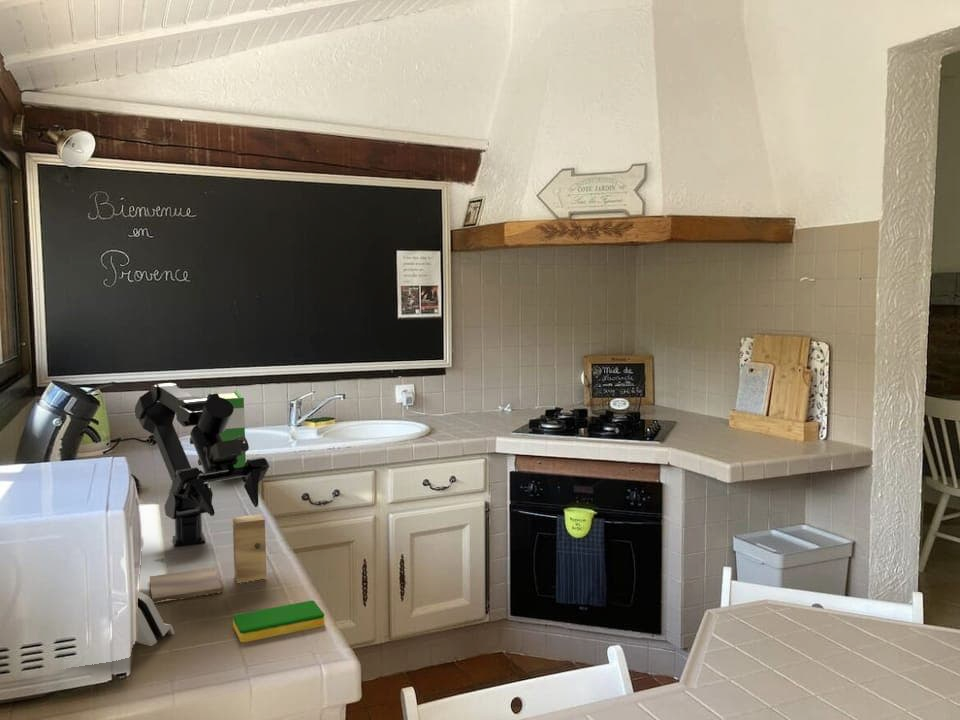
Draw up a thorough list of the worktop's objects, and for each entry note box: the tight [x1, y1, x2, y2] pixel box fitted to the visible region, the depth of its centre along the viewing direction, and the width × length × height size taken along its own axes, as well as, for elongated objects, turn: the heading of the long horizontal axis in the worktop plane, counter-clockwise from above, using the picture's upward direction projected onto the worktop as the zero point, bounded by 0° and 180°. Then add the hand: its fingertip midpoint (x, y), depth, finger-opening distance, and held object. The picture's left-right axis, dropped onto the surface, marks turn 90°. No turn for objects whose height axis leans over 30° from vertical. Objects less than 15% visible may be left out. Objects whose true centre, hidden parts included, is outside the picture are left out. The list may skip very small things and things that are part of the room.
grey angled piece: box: [137, 590, 175, 647], centre depth 130 cm, size 17×5×10 cm, turn 63°
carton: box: [212, 390, 247, 468], centre depth 243 cm, size 18×7×24 cm, turn 23°
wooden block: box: [232, 513, 268, 584], centre depth 154 cm, size 4×6×12 cm
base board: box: [149, 567, 223, 602], centre depth 150 cm, size 12×12×1 cm
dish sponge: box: [232, 599, 326, 643], centre depth 133 cm, size 7×14×2 cm, turn 117°
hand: (235, 510), depth 158 cm, fingers open, 9 cm apart
